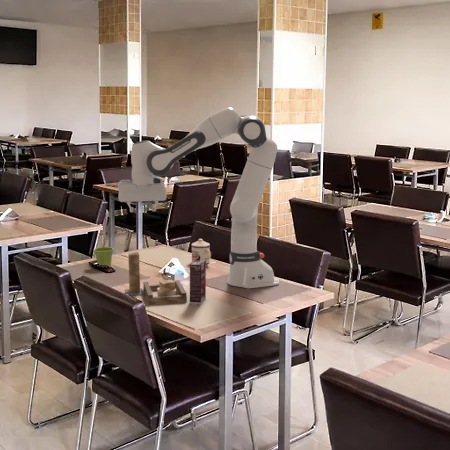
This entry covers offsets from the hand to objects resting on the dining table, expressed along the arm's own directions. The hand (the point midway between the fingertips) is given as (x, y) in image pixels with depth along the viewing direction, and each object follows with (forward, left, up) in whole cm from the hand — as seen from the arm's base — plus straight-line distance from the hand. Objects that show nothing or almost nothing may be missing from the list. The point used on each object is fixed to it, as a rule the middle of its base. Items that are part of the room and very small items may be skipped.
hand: (142, 211), depth 282 cm
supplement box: (-18, +32, -31) cm, 48 cm away
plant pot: (+16, -30, -31) cm, 46 cm away
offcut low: (-6, +25, -31) cm, 41 cm away
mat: (+6, +15, -31) cm, 35 cm away
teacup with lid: (-31, -28, -31) cm, 52 cm away
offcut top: (-7, +25, -27) cm, 38 cm away
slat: (+6, +15, -31) cm, 35 cm away
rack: (-6, +22, -31) cm, 39 cm away
